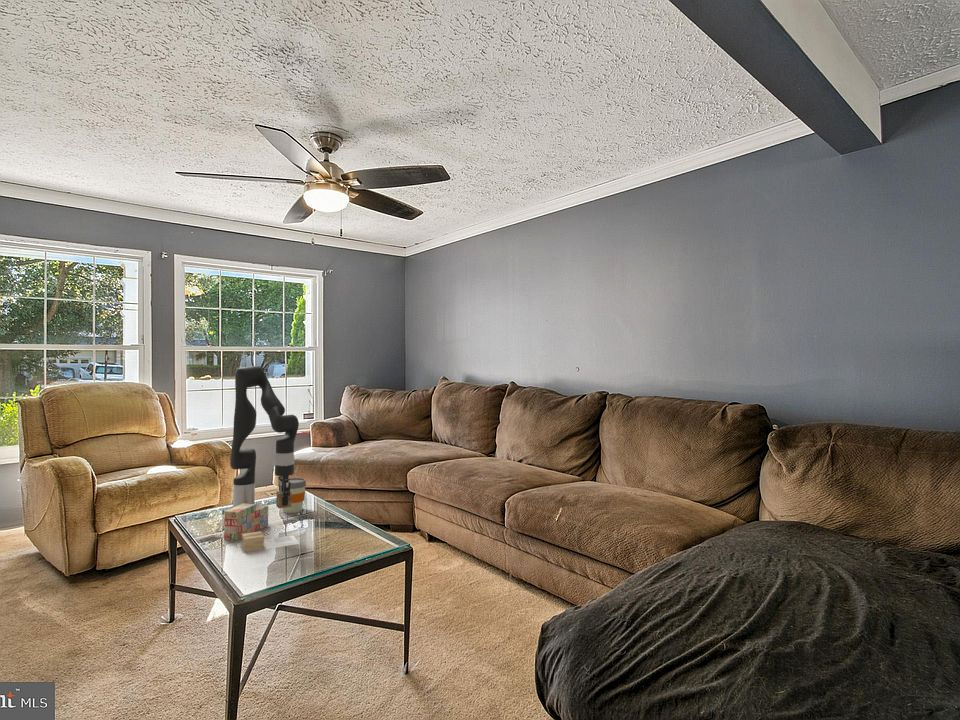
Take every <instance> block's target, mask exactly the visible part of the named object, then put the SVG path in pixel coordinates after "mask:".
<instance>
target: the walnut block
mask: <svg viewBox="0 0 960 720" xmlns="http://www.w3.org/2000/svg"><path fill="white" fill-rule="evenodd" d="M285 493H287V491H285ZM275 498H276V501H275V502H276V503H275V505H276V507H277V508H278V509H279V510H280V509H283V508H287V507H291V491H290V496H288V505H287V506H283V505H282V491H279V490H276V497H275Z"/></svg>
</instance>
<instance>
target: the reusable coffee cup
mask: <svg viewBox="0 0 960 720" xmlns="http://www.w3.org/2000/svg"><path fill="white" fill-rule="evenodd" d="M289 479H290V483H291V484H290V491H291V507H287V508H282V512H283V513H285V514H294V513H299V511H300V512H301V511H302V510H303V503H304V501H305V495H306V490H305V489H306V486H307V483H306V482H307V481H306V479H305V478H301V477H291V478H290V477H289Z"/></svg>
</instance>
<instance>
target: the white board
mask: <svg viewBox="0 0 960 720" xmlns="http://www.w3.org/2000/svg"><path fill="white" fill-rule="evenodd" d="M295 545H300V542H299V541H298V539H297V538H296V537H295V535H285V536H278V537H273V538H267V539H264V549H261V550H255V551H248V552H244V551H243V548H242V542H241V543H236V546H237V548H238V552H239V554H245V553H252V552H259V551H265V550H269V549H270V550H271V549H275V548H282V547H289V546H295Z"/></svg>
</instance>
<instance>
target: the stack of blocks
mask: <svg viewBox="0 0 960 720" xmlns="http://www.w3.org/2000/svg"><path fill="white" fill-rule="evenodd" d="M223 526H224V527H223V529H224V531H223V540H230V541H239V540H240V539H242V534H246V533H253V532H257V531H258V530H260V529H264V528H266V527H268V526H269V505H266V504H265V505H263V504H262V505H261V504H245V503H243V504H241V505H238V506H236V507H234V508H233V507H231V508H229V509H226V510H224V518H223Z"/></svg>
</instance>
